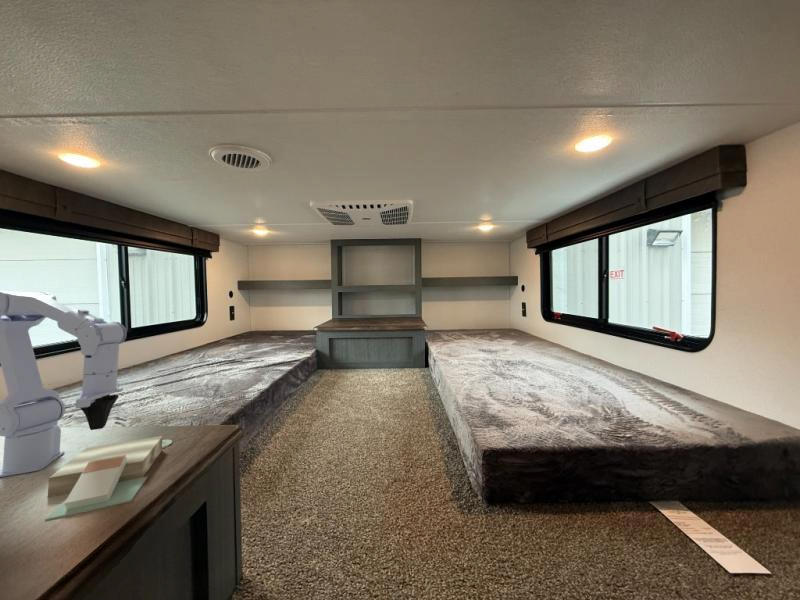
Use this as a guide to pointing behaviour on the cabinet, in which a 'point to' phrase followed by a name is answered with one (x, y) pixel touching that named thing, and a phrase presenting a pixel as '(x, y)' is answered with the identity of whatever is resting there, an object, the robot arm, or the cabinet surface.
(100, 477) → the white striped box
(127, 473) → the cream piece
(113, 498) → the mat
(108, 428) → the cabinet surface
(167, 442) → the sign
